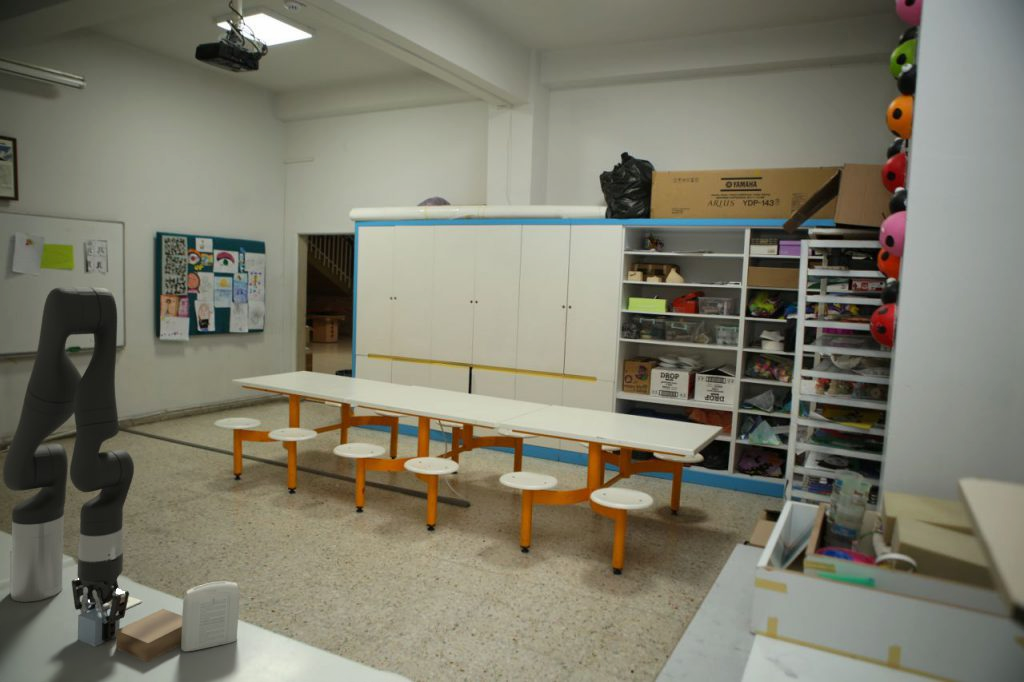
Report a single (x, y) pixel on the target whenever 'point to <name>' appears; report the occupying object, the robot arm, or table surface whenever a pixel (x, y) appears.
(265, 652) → the table surface
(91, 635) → the top brick
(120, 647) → the base brick
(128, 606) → the page
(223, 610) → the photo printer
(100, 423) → the robot arm
